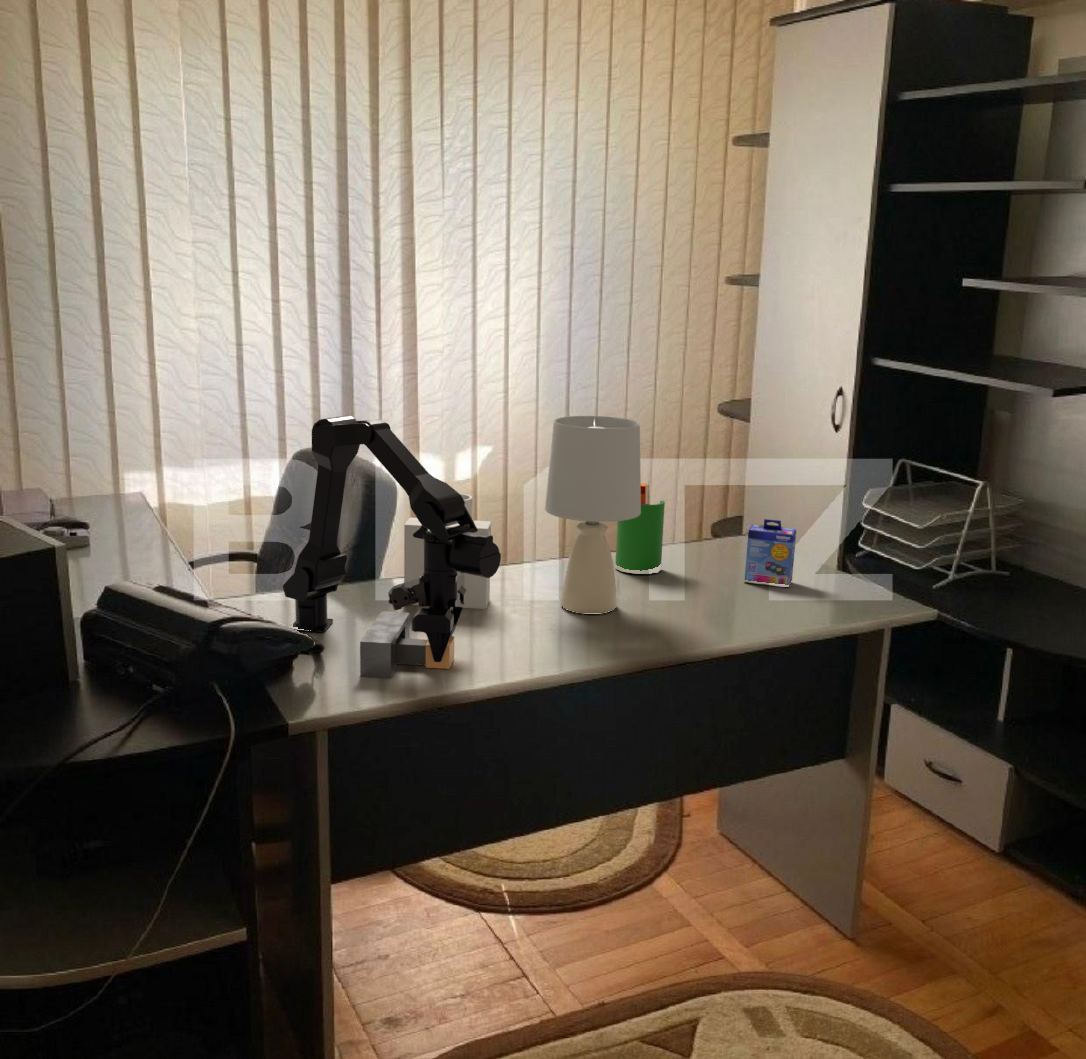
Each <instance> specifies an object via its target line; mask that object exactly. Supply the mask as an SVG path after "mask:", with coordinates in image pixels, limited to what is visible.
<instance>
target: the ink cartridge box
mask: <svg viewBox="0 0 1086 1059" xmlns="http://www.w3.org/2000/svg"><path fill="white" fill-rule="evenodd" d="M768 523H773V524H768ZM747 532H748V533H747V541H746V542H747V543H746V545H747V546H746V557H745V558H746V560H745V568H744V569H745V570H744V578H743V579H744V580H748V581H757V582H766V583H775V584H785V585H790V583H791V581H792V582H793V572H794V563H795V552H796V551H795V550H796V540H797V539H796V538H797V529H796V528H792V527H791V528H790V527H782V520H779V519H778V520H777V519H767V518H764V519H763V524H751V525H750V527H749V529H748V531H747ZM790 586H791V585H790Z"/></svg>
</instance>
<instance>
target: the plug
mask: <svg viewBox="0 0 1086 1059" xmlns="http://www.w3.org/2000/svg"><path fill="white" fill-rule="evenodd" d="M454 660H455V636H454V635H452V636H451V637H450V639H449V642H448V645H447V647H446V650H445V652H444V655H443V657H442V660H441V662H435V661H434V659H433V655H432V652H431V648H430V644H429V641H428V639H419V638H417V639H416V638H410V639H405V638H397V640H396V665H409V666H410V665H413V666H425V668H427V669H446V670H450V669H451V666H452V664H453V662H454Z"/></svg>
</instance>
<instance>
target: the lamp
mask: <svg viewBox="0 0 1086 1059" xmlns="http://www.w3.org/2000/svg"><path fill="white" fill-rule="evenodd" d="M552 425H553V426H552V435H551V436H552V437H551V444H550V455H549V464H548V466H549V467H548V473H547V474H548V476H547V485H546V495H545V506H544V510H545V512H547V513H548V514H549V515H551V516H554V517H557V518H562V519H566V520H570V521H571V520H572V521H579V523H578V524H577V525H576V529H577V530H578V532H579V533H578V536H577V538H576V540H575V541H574V544H573V545H572V548H571V552H570V555H569V557H568V561H567V565H566V569H565V575H564V579H563V585H562V588H561V590H562V591H561V597H560V606H561V607H562V606H563V607H564V608H565V609H568V610H570V611H574V612H578V613H605V612H608V611H611V610H613V609H615V608H616V609H617V607H618V606H617V604H618V598H617V585H616V577H615V567H614V561H613V556H612V552H611V548H610V545H609V543H608V541H607V539H606V535H605V533H606V532H607V530H608V525H607V524H605V523H612V522H618V521H623V520H629V519H633V518H636V517H638V516H639V515H640V514H641V484H642V483H641V424H640V423H639V421H637V420H633V419H629V418H624V417H623V418H622V417H615V416H604V415H603V416H601V415H569V416H562V417H557V418H554V420H553V424H552ZM564 608H563V609H564ZM565 609H564V610H565ZM616 609H615V610H616Z"/></svg>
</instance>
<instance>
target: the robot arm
mask: <svg viewBox="0 0 1086 1059" xmlns="http://www.w3.org/2000/svg"><path fill="white" fill-rule="evenodd" d="M361 445H364V446H365V447H366V448H367V450H369V451H370V452H371V453H372V455H373V456H374V457H375V458H376V459H377V460H378V461H379V463H380V464H381V465H382V466H383V467H384V468H385V469H386V471H387V472H388V473H389V474H390V476H392V478H393V479H394V480H395V481H396V483H398V484H399V486H400V487H401V488H402V490H404V492H405V493H406V494H407V497H408V501H409V507H410V509H411V511H412V513H413V514H414V515H415V518H417V519H418V520H419V522H420V523H421V525H422V526H421V527H420V528H419V529H418V530H417V531H416V532H415V533H413V537H414V538H419V539H423V540H424V567H423V574H422V575H421V576H420V578H419V579H415V580H411V581H408V582H405V583H404V582H402V583H399V584H396V585H394V586H392V587H391V588H390V590H389V591H388V592H387V594H388V599H389V600H388V603H389V604H390V605H392V608H393V611H399V610H402V609H403V608H405V607H408V606H413V605H412V604H415V603H418V602H419V605H418V607H421V608H420V609H419V610H418V611H417V612H415V614H414V616H413V618H412V620H411V627H412V628H411V631H413V632H414V633H416V632H417V633H424V634H425V635H426V637H427V640H428V641H429V644H430V648H431V652H432V655H433V659H434V661H435V662H441V660H442V657H443V655H444V652H445V650H446V647H447V645H448V642H449V639H450V637H451V636H454V635H453V634H454V632H455V630H456V627H457V625H458V622H459V619H460V617H461V615H462V612H463V610H464V608H463V607H456V605H457V603H458V601H459V600H460V602H461V604H465V602H466V596H467V590H466V589H465V588H464V587H463V586H462V585H458V578H459V576H460V572H462V573H467V574H471V575H476V576H480V577H485V578H490V579H491V578H492V577H493V576H494V575H495V574H496V573H497V572H498V569H499V568H500V565H501V560H502V553H501V552H500V549H499V546H498V545H497V544H496V543H494V536H493V535H492V534H491V535H488V534H484V535H482V534H476V532H477V531H478V529H477V527H476V526H475V524H474V521H475V520H473V517H472V518H471V516H470V514H469V513H468V511H467V509H466V507H465V502H464V499H463V498H462V496H461V495H460V494H461V493H460V492H458V491H457V490H455V489H454V488H453V487H452V486H451V485H449V484H448V483H447V482H445V481H443V480H440V479H438V478H436V477H434V476H433V475H432V474H431V473H429V472H428V471H427V469H426V468H425V467H424V466H423V465H422V463H421V462H420V461H418V459H417V457H415V456H414V454H413V453H412V452H411V451H410V450H409V449H408V448H407V447H406V446H405V444H403V442H402V441H401V440H400V439H399V438H398V436H397V435H396V434H395V433H394V431H393V430H391V426H390V424H389V423H388V422H387V421H386V420H383V419H373V420H370V419H368V420H357V419H356V418H355V417H353V416H352V415H342V416H335V417H327V418H322V419H318V421H316V422H314V423H313V425H312V428H311V453H312V454H313V457H314V459H315V461H316V463H317V474H316V480H315V490H314V496H313V506H312V513H311V519H310V520H311V521H310V528H309V535H308V541H307V542H306V544H305V546H304V547H303V548H302V549H301V551H300V552H299V554H298V556H297V560H296V564H295V567H294V572H293V574H291V576H290V577H289V578H288V579H287V580H286V581H285V583H284V584H282V590H283V593H284V596H285V598H289V599H292V600H295V601H294V602H295V621H294V622H293V623H292V624H293V627H298V629H304V630H309V631H308V632H312V631H322V632H321V633H325V632H326V631H327V630H326V629H327V628H329V627H330V626H331V625H332V624H333V622H334V619H333V618H328V594H330V593H333V592H337V590H338V586H339V584H340V583H341V581H342V580H343V576H346V563H347V562H348V561H347V560H348V556H347V554H346V553H345V554H344V553H342V551H341V549H340V547H339V545H338V538H339V537H338V536H339V531H340V530H339V529H340V522H341V515H342V508H343V502H344V501H343V500H344V495H345V494H344V491H345V485H346V480H347V471H348V468H349V467H350V465H351V463H352V462H353V460H354V459H355V458H356V457H357V454H358V452H359V450H360V446H361ZM459 493H460V494H459ZM456 523H458V524H459V525H458V526H455V527H451V528H448V529H446V528H445V527H446V526H450V525H453V524H456ZM422 607H423V608H422ZM331 623H332V624H331ZM330 624H331V625H330ZM310 630H311V631H310ZM325 630H326V631H325ZM324 631H325V632H324Z"/></svg>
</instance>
